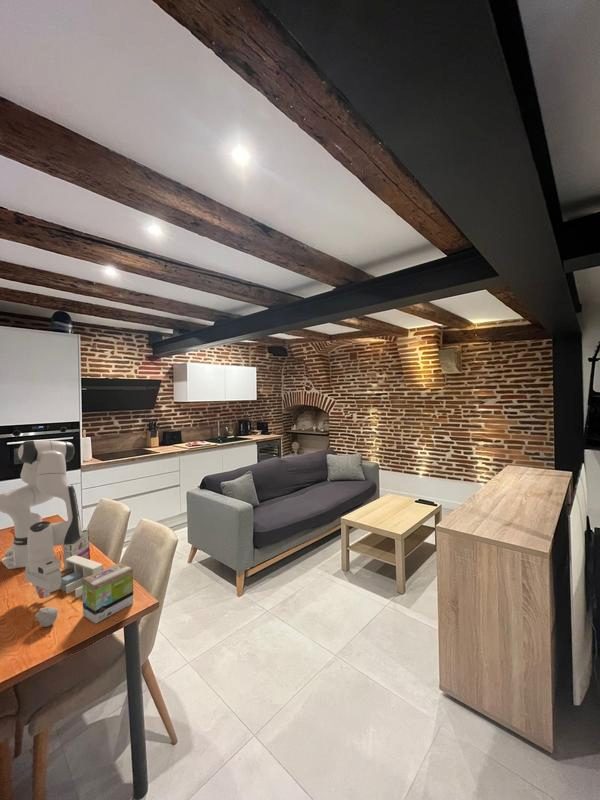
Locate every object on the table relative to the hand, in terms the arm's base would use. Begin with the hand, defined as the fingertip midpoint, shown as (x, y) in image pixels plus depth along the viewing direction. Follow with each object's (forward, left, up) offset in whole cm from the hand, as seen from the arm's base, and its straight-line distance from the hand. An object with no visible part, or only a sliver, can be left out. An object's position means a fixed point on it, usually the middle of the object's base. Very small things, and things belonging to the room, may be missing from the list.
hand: (43, 595), depth 141 cm
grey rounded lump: (+19, -8, -2) cm, 20 cm away
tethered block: (0, +6, -2) cm, 7 cm away
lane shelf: (0, +13, -2) cm, 13 cm away
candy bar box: (-18, +24, -3) cm, 31 cm away
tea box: (+31, +8, -3) cm, 32 cm away
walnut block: (-7, +11, -2) cm, 13 cm away
